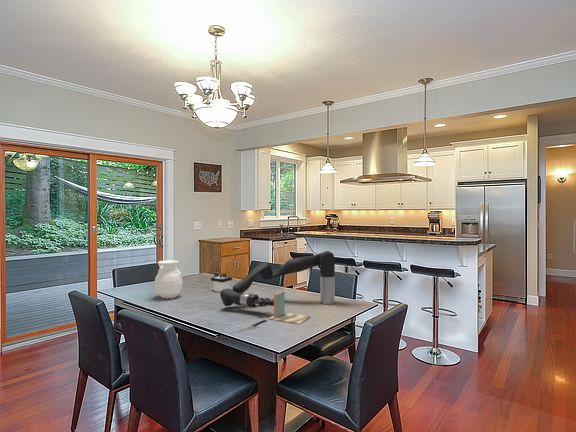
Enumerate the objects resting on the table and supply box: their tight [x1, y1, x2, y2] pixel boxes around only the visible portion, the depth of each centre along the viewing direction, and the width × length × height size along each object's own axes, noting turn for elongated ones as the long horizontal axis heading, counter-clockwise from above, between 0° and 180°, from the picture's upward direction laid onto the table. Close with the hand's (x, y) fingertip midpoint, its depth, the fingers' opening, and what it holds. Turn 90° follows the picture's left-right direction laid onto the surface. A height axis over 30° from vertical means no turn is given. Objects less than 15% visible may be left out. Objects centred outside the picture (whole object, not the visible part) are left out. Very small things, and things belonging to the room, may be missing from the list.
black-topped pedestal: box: [210, 272, 233, 293], centre depth 266 cm, size 28×26×13 cm
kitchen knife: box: [230, 319, 268, 335], centre depth 180 cm, size 29×1×10 cm
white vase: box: [153, 259, 183, 300], centre depth 247 cm, size 19×18×25 cm
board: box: [268, 312, 311, 325], centre depth 198 cm, size 19×14×1 cm
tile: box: [273, 290, 286, 318], centre depth 201 cm, size 2×8×13 cm, turn 152°
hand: (274, 303), depth 202 cm, fingers closed
